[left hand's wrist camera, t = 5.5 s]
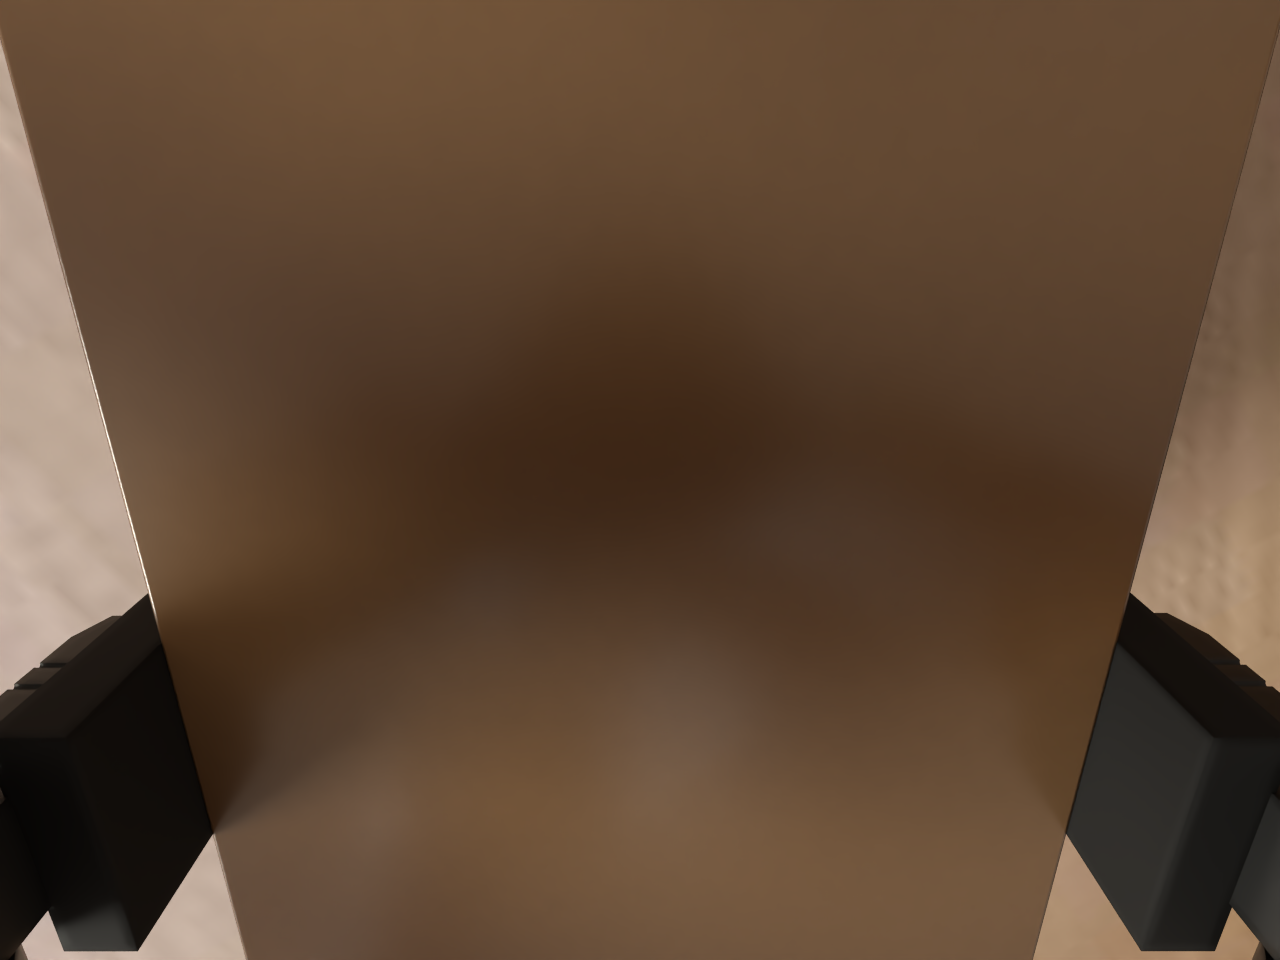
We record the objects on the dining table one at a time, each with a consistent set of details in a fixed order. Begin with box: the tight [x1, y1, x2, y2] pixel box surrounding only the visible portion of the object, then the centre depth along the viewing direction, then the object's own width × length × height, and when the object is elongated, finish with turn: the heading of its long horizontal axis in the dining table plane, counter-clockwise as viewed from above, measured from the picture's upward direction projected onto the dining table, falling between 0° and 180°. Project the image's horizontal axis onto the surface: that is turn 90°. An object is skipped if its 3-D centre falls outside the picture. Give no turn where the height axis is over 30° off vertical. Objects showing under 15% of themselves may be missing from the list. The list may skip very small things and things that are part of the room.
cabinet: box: [0, 0, 1280, 960], centre depth 13 cm, size 18×10×11 cm, turn 0°
